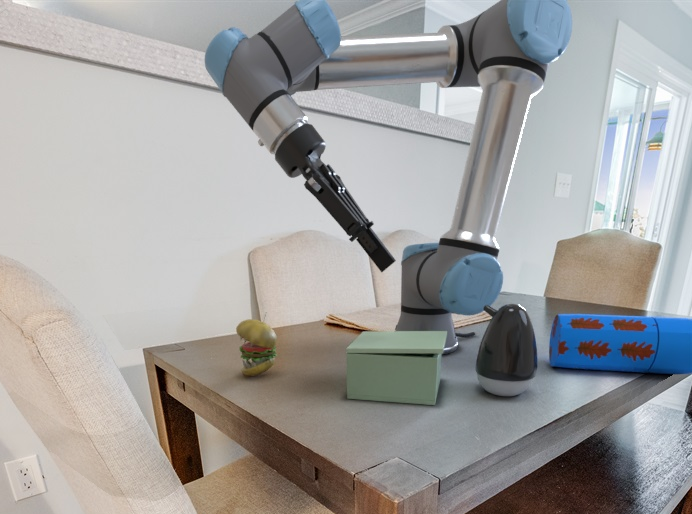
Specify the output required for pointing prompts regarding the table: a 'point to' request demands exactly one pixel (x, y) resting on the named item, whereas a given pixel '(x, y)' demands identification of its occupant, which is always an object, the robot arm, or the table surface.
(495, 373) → the pump dispenser
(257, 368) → the hamburger
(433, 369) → the keepsake box
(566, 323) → the thermos
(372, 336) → the lid
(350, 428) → the table surface
